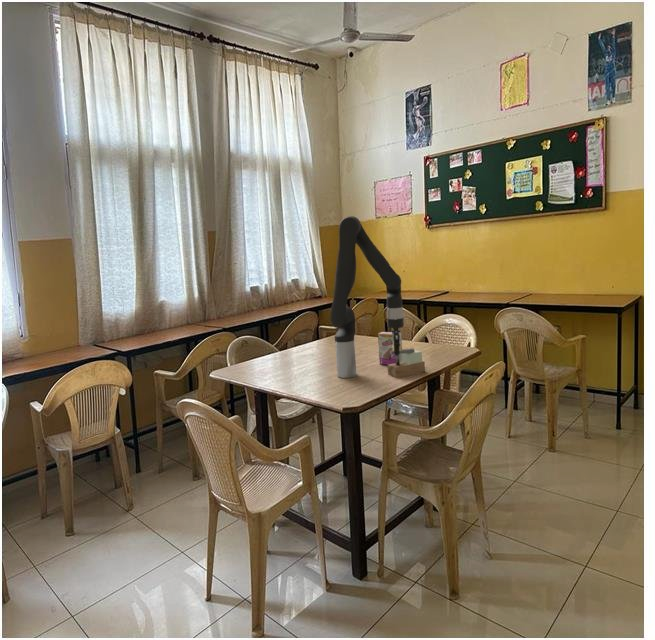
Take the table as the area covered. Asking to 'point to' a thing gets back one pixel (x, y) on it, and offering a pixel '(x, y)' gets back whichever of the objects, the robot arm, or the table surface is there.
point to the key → (400, 353)
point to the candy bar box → (387, 348)
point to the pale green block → (412, 357)
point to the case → (405, 369)
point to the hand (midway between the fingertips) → (397, 353)
